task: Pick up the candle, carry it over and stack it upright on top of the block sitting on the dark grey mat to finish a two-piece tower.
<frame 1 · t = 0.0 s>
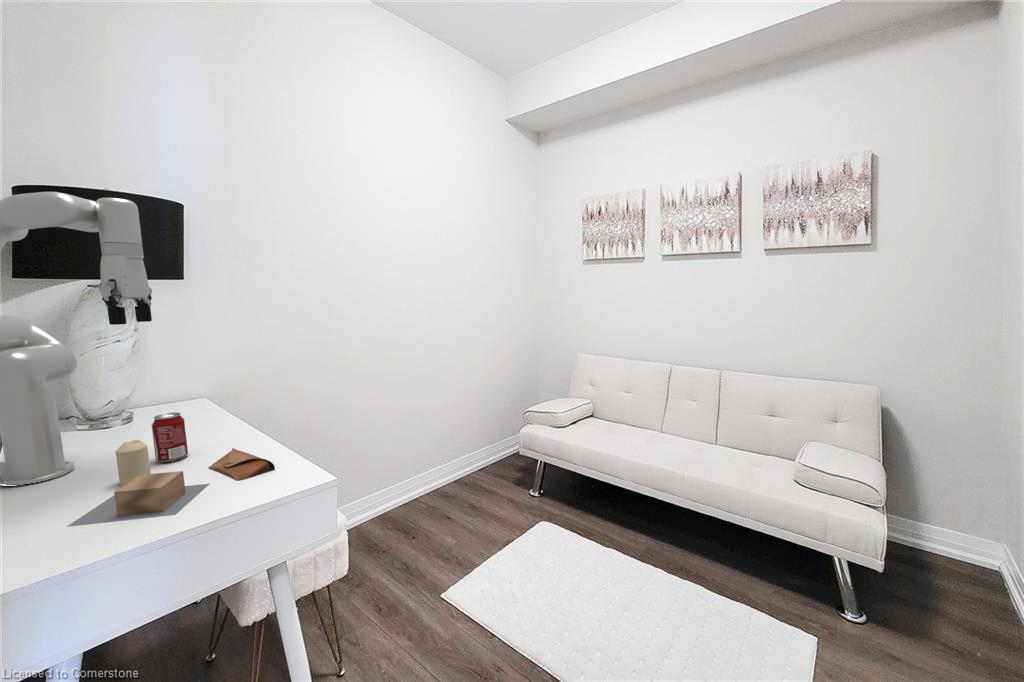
hand: (131, 322, 106), 37 cm above the table, tool pointing down, fingers open, 9 cm apart
candle: (136, 484, 100), on the table
sunglasses case: (239, 473, 106), on the table
mat: (145, 505, 90), on the table
block: (153, 504, 89), point 1 cm above the table, touching mat
soda can: (172, 459, 115), on the table
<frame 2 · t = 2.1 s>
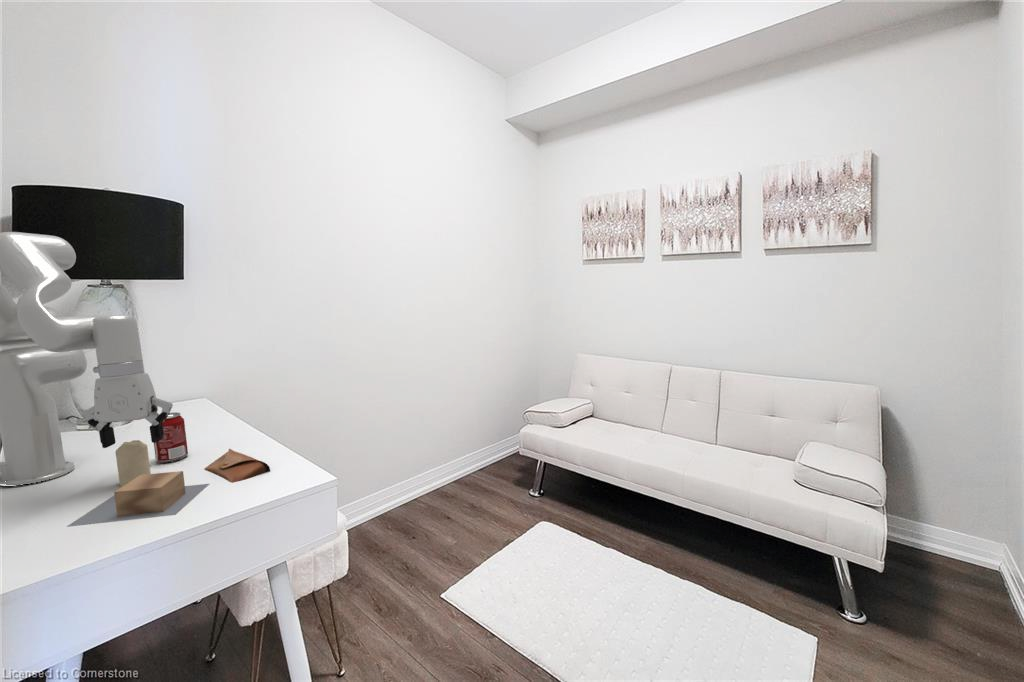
hand: (133, 443, 99), 10 cm above the table, tool pointing down, fingers open, 9 cm apart
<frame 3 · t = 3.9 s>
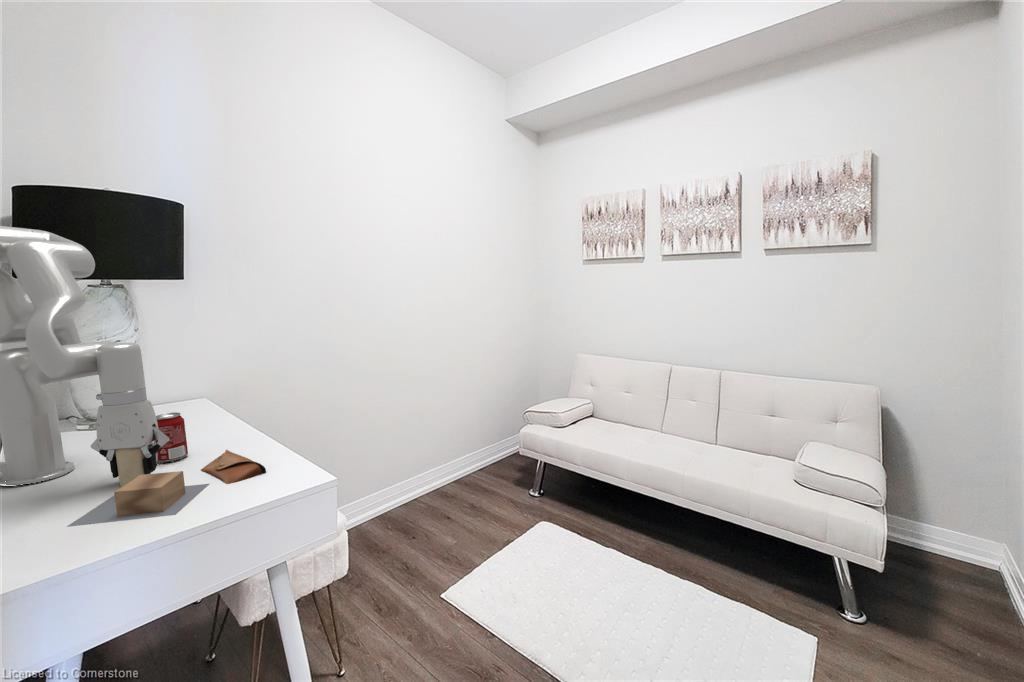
hand: (134, 473, 100), 3 cm above the table, tool pointing down, fingers closed on candle, 5 cm apart
candle: (136, 484, 100), on the table, touching gripper
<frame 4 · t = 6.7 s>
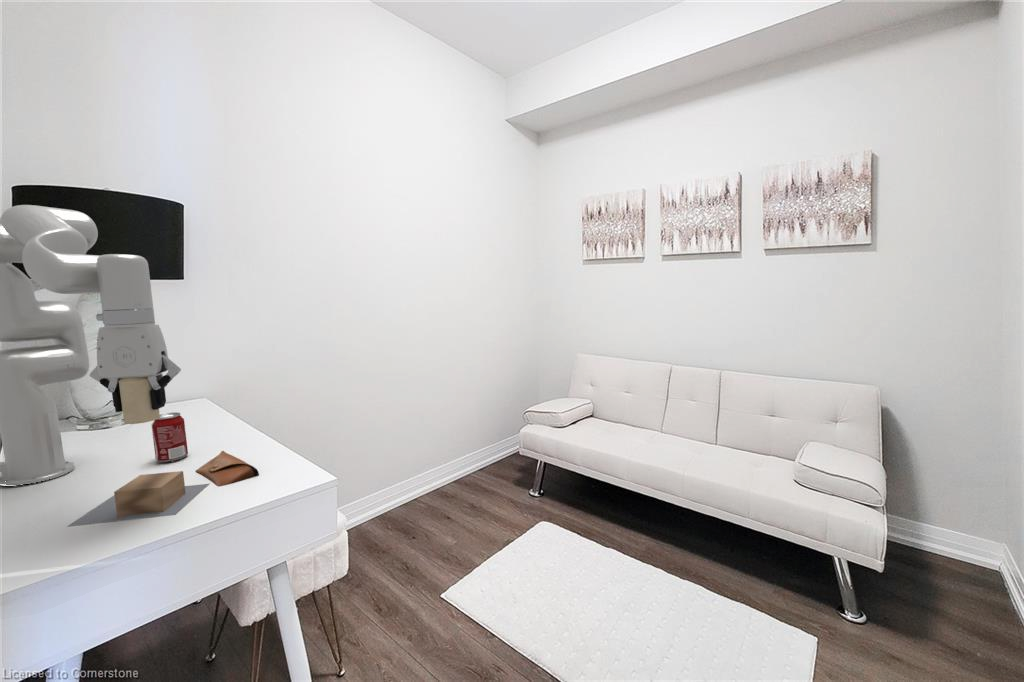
hand: (140, 408, 87), 21 cm above the table, tool pointing down, fingers closed on candle, 5 cm apart
candle: (142, 421, 87), point 18 cm above the table, touching gripper
sunglasses case: (224, 477, 104), on the table
everything else where it was.
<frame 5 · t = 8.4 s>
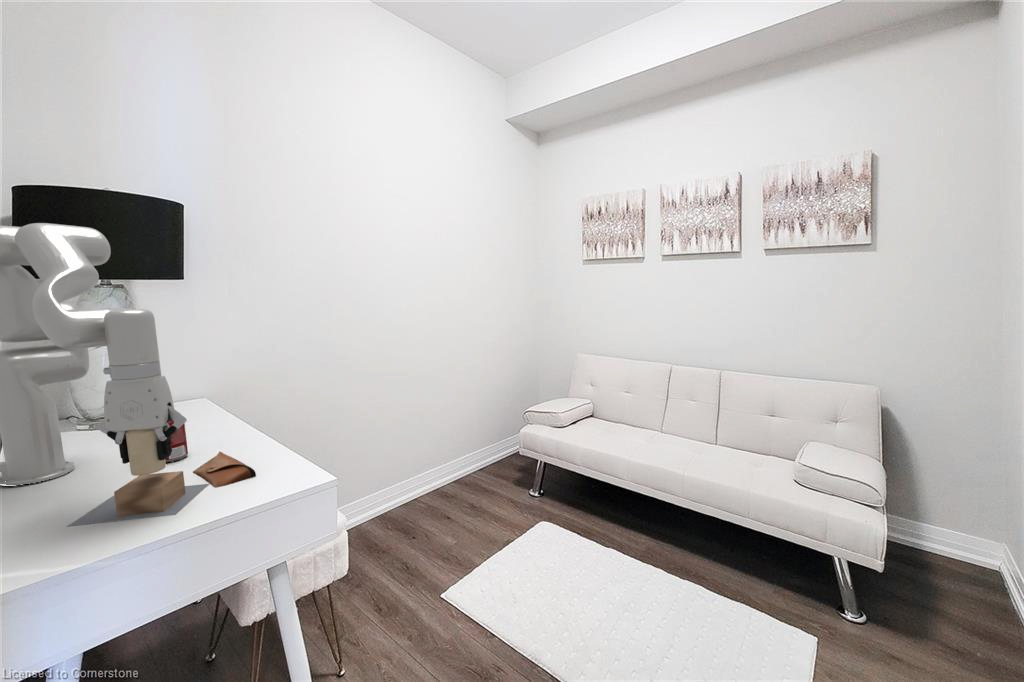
hand: (147, 458, 88), 10 cm above the table, tool pointing down, fingers closed on candle, 5 cm apart
candle: (149, 471, 88), point 8 cm above the table, touching gripper
when the fingers open (9 cm above the table, at t = 9.5 s): candle stays where it is, resting on block.
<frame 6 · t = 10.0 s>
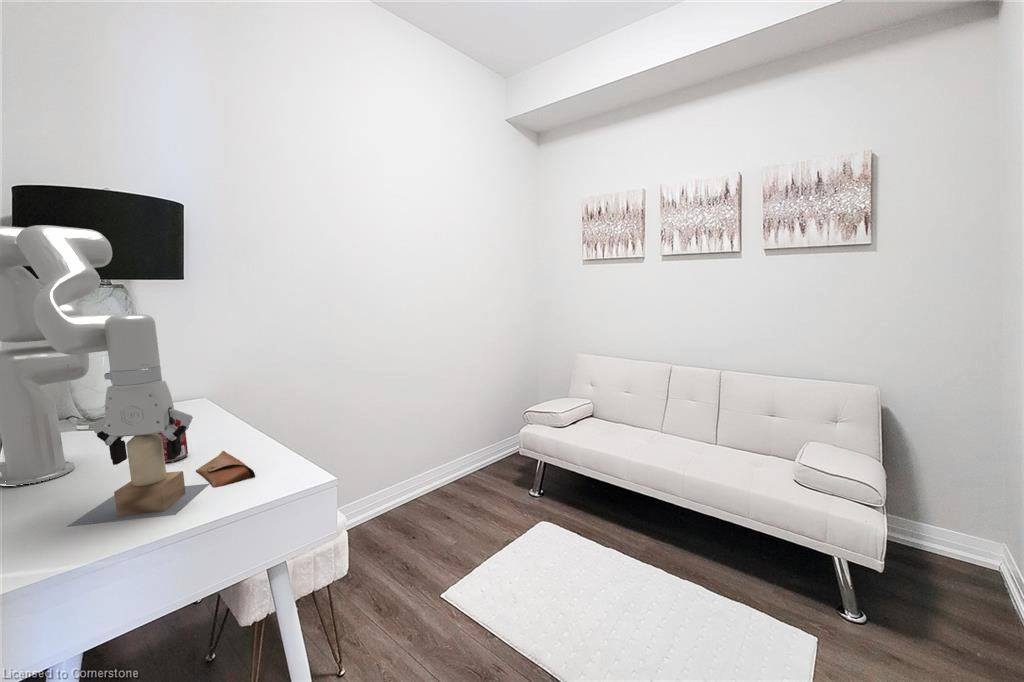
hand: (147, 459, 88), 10 cm above the table, tool pointing down, fingers open, 9 cm apart
candle: (149, 481, 88), point 5 cm above the table, touching block
sunglasses case: (223, 478, 104), on the table, touching mat
block: (153, 504, 89), point 1 cm above the table, touching candle, mat
everything else where it was.
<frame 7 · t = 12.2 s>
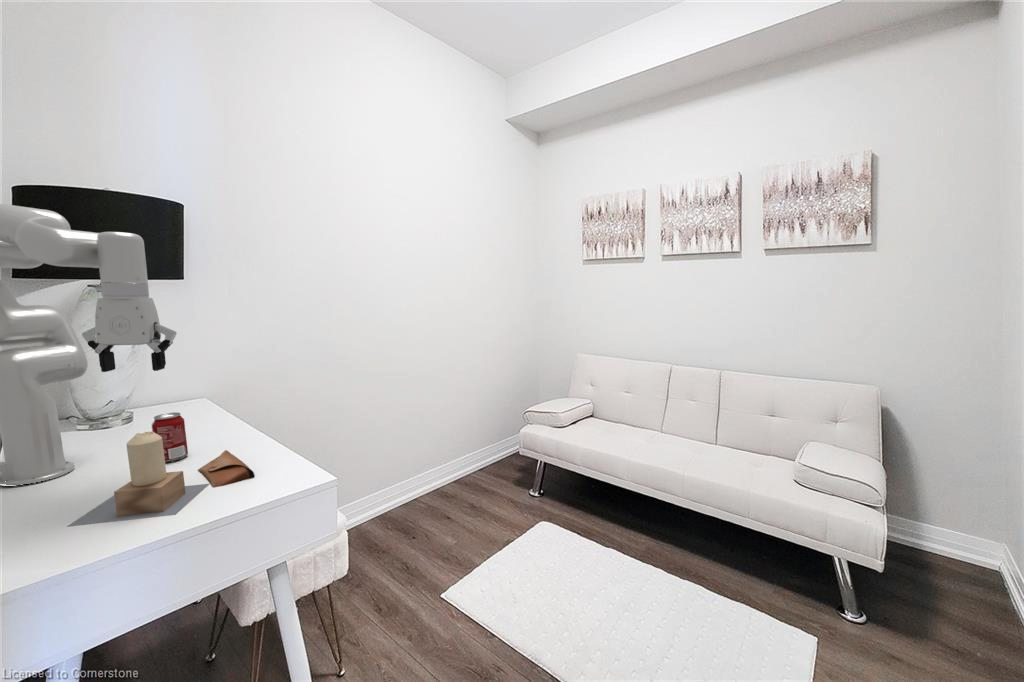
hand: (134, 370, 95), 27 cm above the table, tool pointing down, fingers open, 9 cm apart
sunglasses case: (224, 477, 104), on the table
everything else where it was.
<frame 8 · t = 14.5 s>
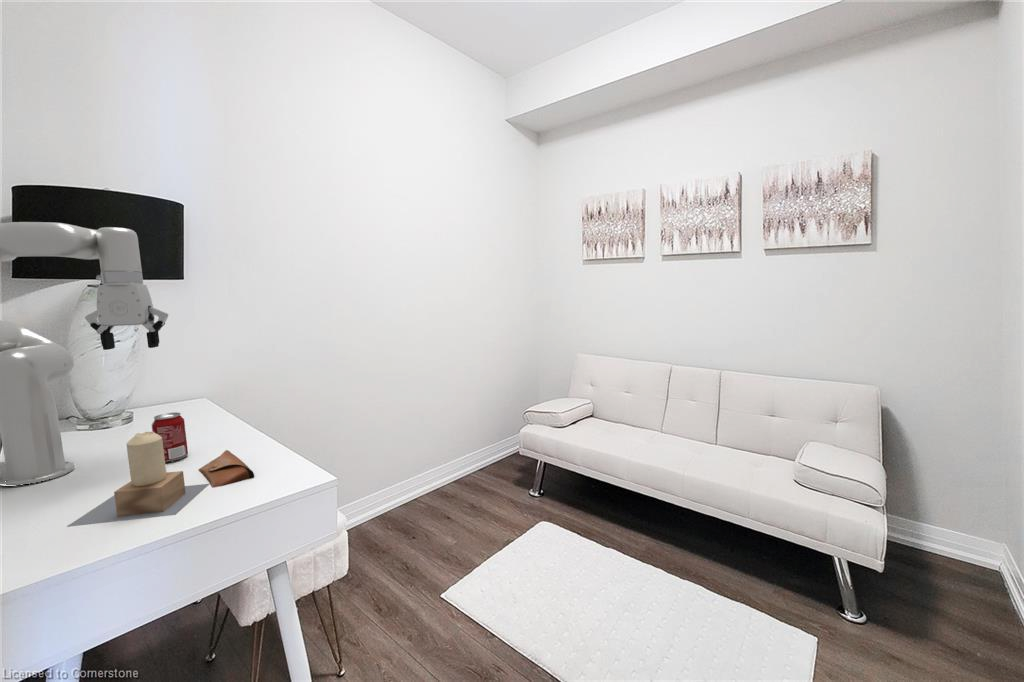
hand: (131, 348, 109), 30 cm above the table, tool pointing down, fingers open, 9 cm apart
nothing on the table moved.
at the end: candle inside the target area on the block (0.2 cm from its centre), point 4.8 cm above the block's base; candle tilted 0°; the gripper is holding nothing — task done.
